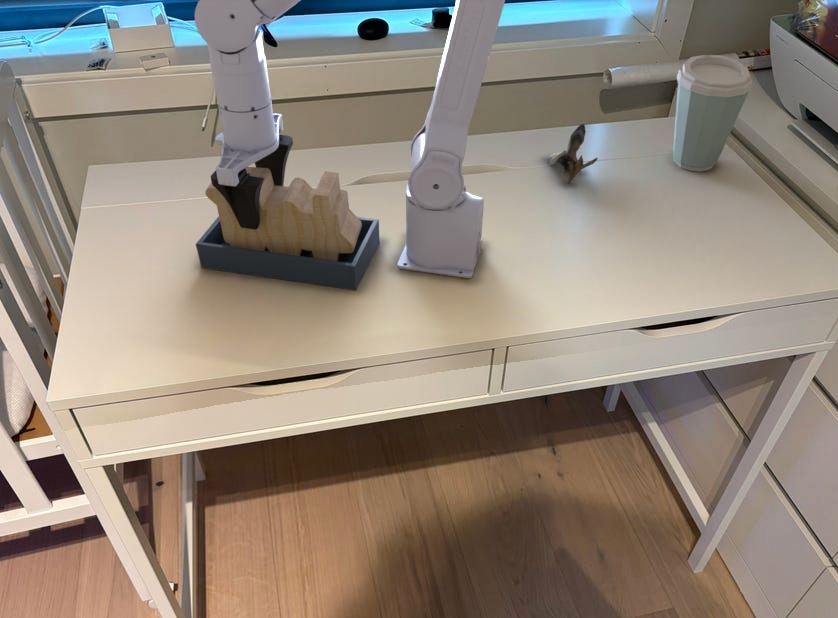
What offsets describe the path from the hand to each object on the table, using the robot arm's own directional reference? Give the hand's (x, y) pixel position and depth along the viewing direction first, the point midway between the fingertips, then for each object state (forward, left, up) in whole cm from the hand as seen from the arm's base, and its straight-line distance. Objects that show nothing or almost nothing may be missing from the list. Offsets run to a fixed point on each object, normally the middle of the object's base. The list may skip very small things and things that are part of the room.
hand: (261, 210), depth 88 cm
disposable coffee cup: (-55, -39, -6) cm, 68 cm away
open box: (-3, 0, -6) cm, 7 cm away
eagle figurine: (-36, -31, -6) cm, 48 cm away
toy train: (-3, 0, -6) cm, 6 cm away
